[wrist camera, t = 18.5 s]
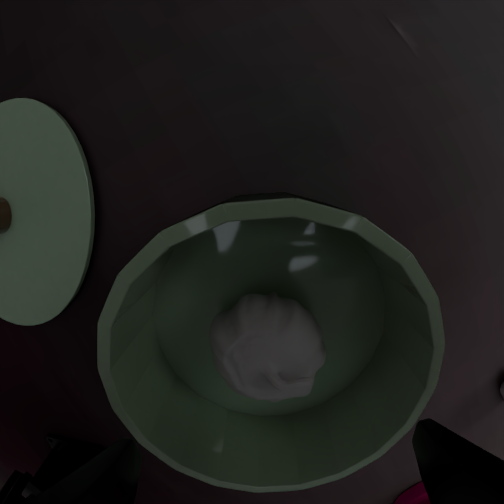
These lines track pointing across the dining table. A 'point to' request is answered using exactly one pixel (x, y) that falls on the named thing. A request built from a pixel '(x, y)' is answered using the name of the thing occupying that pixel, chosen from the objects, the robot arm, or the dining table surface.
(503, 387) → the unicorn horn
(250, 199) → the squat sage green cylinder
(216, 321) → the garlic
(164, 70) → the dining table surface
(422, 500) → the pepper mill
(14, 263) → the lid
